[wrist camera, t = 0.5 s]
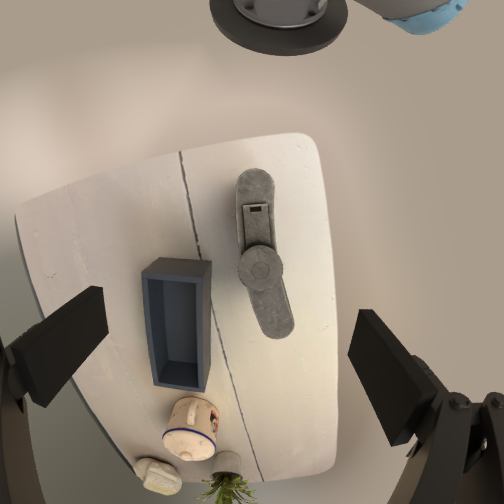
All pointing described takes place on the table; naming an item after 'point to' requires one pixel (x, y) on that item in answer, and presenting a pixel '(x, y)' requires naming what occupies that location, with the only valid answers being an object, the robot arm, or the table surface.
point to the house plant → (227, 478)
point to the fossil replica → (158, 476)
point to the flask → (261, 253)
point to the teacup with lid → (192, 429)
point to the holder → (178, 322)
